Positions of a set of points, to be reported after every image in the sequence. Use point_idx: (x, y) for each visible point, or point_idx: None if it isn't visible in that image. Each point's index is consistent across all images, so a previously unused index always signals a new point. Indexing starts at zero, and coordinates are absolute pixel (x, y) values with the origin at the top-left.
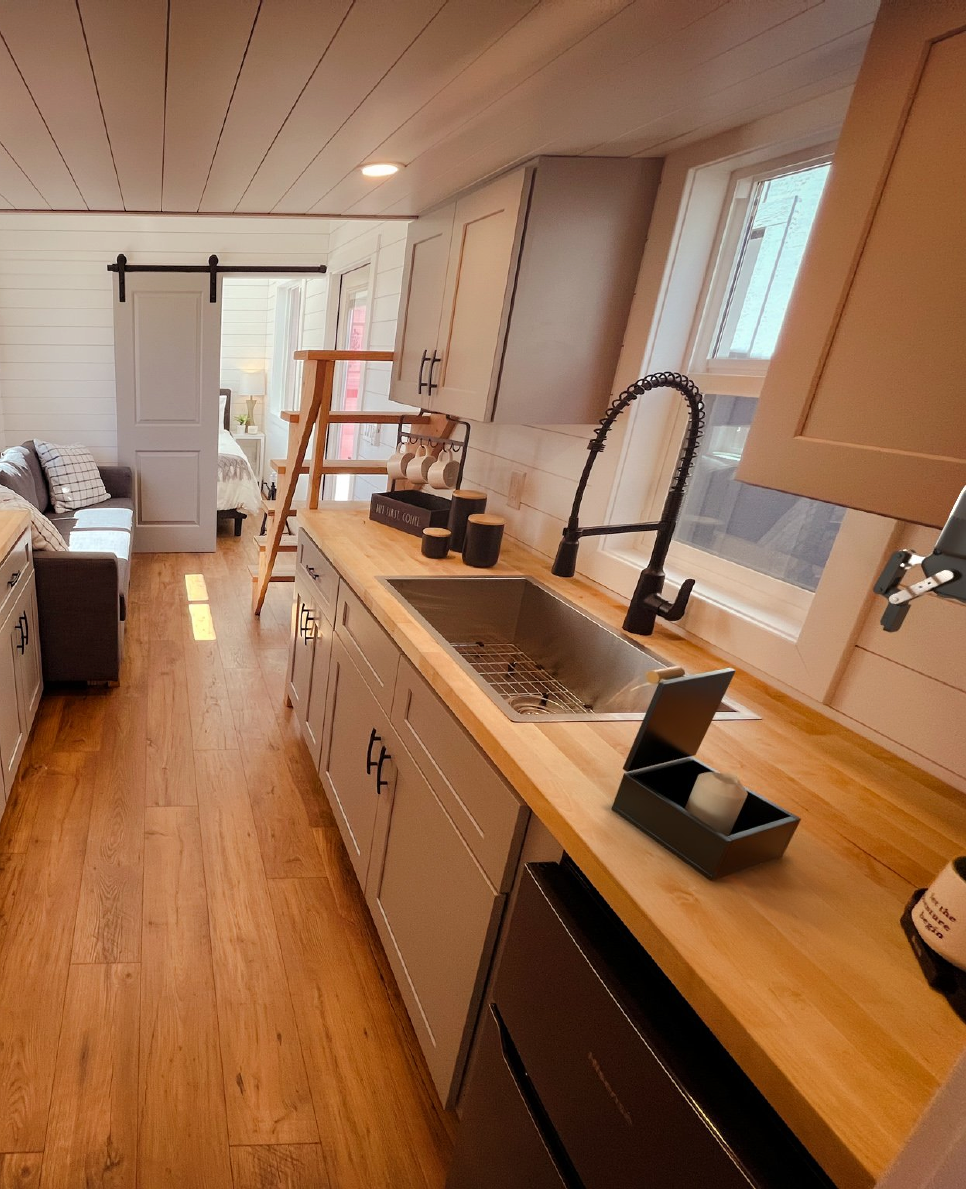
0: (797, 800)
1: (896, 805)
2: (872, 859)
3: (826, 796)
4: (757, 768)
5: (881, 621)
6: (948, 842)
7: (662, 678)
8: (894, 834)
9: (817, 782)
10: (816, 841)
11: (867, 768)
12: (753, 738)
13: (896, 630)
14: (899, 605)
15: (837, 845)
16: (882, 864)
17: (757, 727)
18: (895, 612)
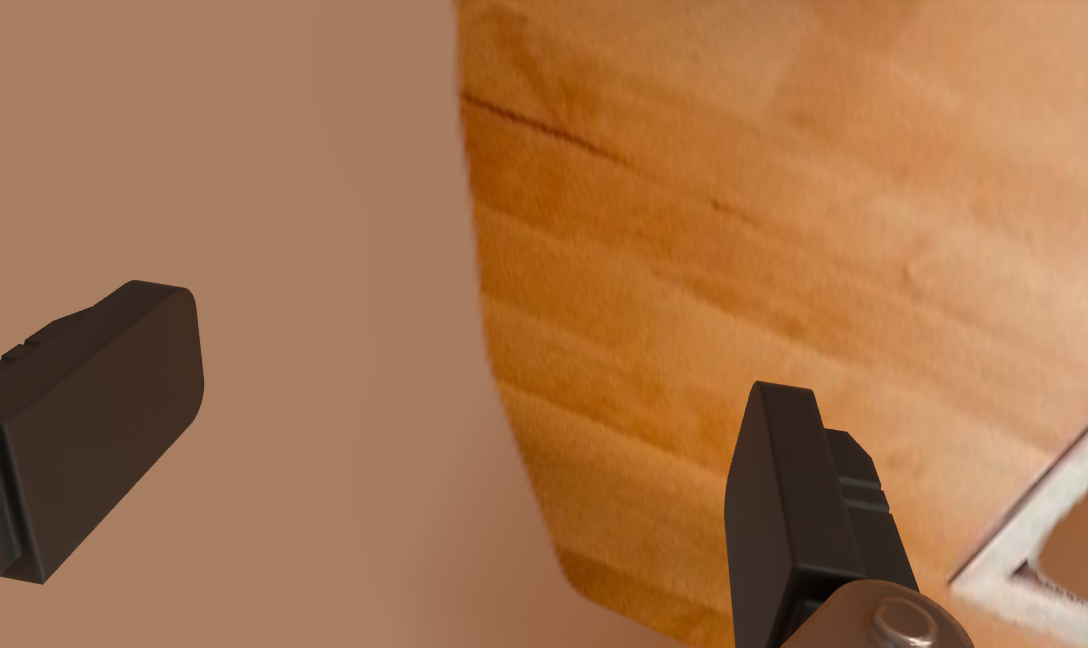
0: (746, 232)
1: (606, 429)
2: (544, 117)
3: (709, 324)
4: (871, 305)
5: (859, 457)
6: (495, 365)
7: None
8: (562, 291)
9: (746, 375)
10: (645, 60)
11: (699, 544)
12: (931, 463)
13: (732, 471)
14: (818, 592)
15: (610, 97)
16: (525, 118)
17: (942, 531)
18: (806, 504)
